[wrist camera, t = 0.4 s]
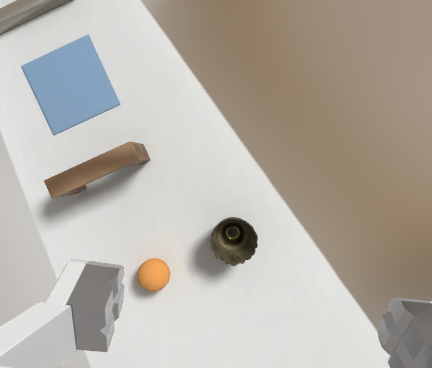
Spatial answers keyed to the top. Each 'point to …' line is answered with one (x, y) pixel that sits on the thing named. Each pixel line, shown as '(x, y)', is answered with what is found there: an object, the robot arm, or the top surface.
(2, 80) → the top surface
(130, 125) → the top surface
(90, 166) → the bridge
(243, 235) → the cup
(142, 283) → the ball
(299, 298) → the top surface
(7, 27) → the wall
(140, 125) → the top surface
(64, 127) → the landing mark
